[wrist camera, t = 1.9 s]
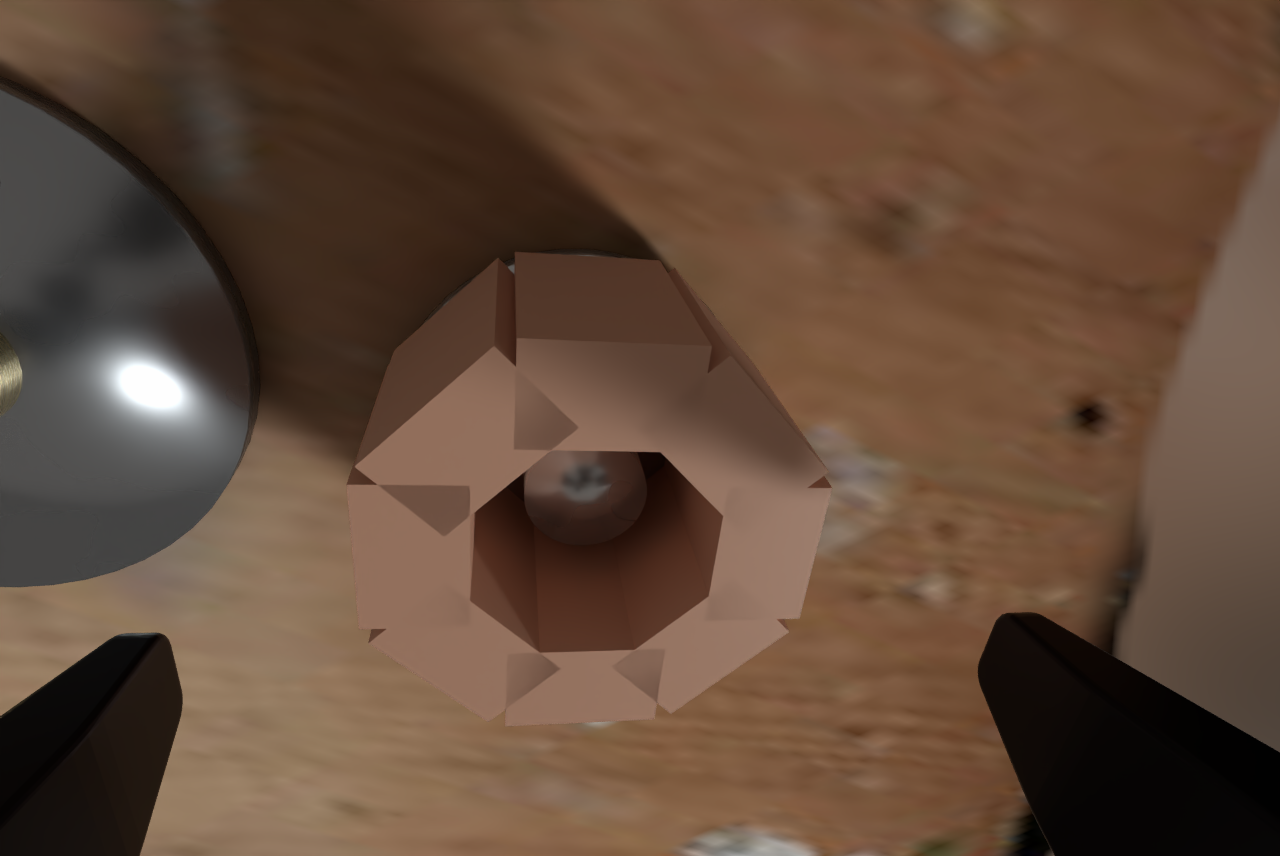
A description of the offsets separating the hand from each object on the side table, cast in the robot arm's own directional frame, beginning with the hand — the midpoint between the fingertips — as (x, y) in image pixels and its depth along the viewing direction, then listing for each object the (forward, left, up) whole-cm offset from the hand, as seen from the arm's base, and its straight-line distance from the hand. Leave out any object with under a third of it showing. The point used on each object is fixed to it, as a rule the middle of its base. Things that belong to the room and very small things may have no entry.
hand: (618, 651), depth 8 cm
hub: (+9, -1, -6) cm, 11 cm away
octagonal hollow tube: (0, 0, -5) cm, 5 cm away
